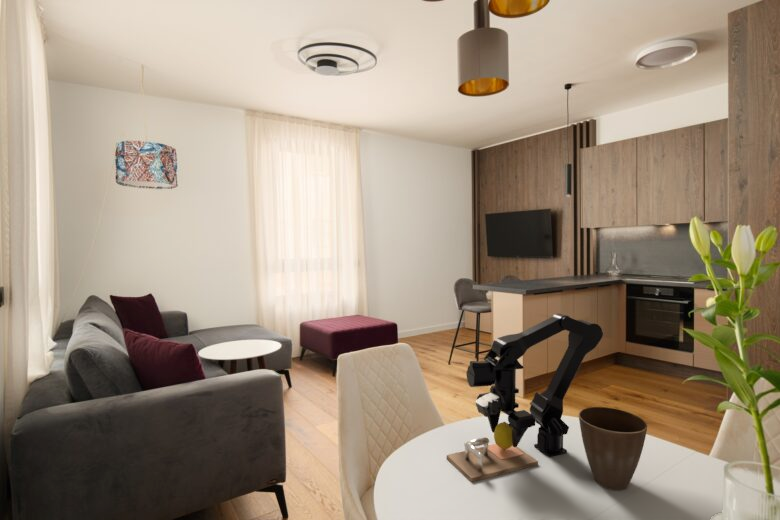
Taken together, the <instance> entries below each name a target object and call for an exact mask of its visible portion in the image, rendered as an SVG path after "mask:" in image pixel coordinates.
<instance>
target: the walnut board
mask: <svg viewBox="0 0 780 520" xmlns="http://www.w3.org/2000/svg"><path fill="white" fill-rule="evenodd" d="M512 446H513V445H512ZM476 448H477V449H478V450H479V451H481V452H482V453H483V455H484V446H481V447H476ZM515 448H516V449H518V450H519V451H521V452H522V453H523V454H524V455H520V456H516V457H512V458H507V459H503V460H500V459H499V458H498V457H497V456H495V455H494V454H493V453H491V452H490V451H489V450H488V456H483V471H482V472H479V471H478V457H477V456H475V455H474V454H473V453H472V452H471V451H470V456H469V460H465V450H463V451H458V452H454V453H449V454H446V460H447V461H449V463H451V464H452V465H453V466H454V468H456V469H457V470H458V471H459V472H460V473H461V474H462V475H463V476H464V477H465V478H466V479H467V480H468V481H469V482H471V483H473V482H477V481H480V480H485V479H488V478H493V477H496V476H499V475H504V474H507V473H508V474H509V473H511V472H515V471H519V470H522V469H527V468H531V467H535V466H538V465H539V460H538V459H536V458H534V457H533V456H531V455H530V454H529V453H527V452H525V451H524V450H523V449H522V448H520V447H518V446H517V447H515Z"/></svg>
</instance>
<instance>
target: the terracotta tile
mask: <svg viewBox="0 0 780 520" xmlns="http://www.w3.org/2000/svg"><path fill="white" fill-rule="evenodd" d="M488 450H489V451H490V452H491V453H493V454H494V455H495V456H497V457H498V458H499V459H500V460H503V459H507V458H512V457H516V456H520V455H524V454H523V453H522V452H521V451H519V450H518V449H516V448H515V447H513V446H511V447H510V448H508V449H506V450H503V449H502V448H500V447H499V446H498V445H497V444H496V443H493V444H490V445H489V444H488Z"/></svg>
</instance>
